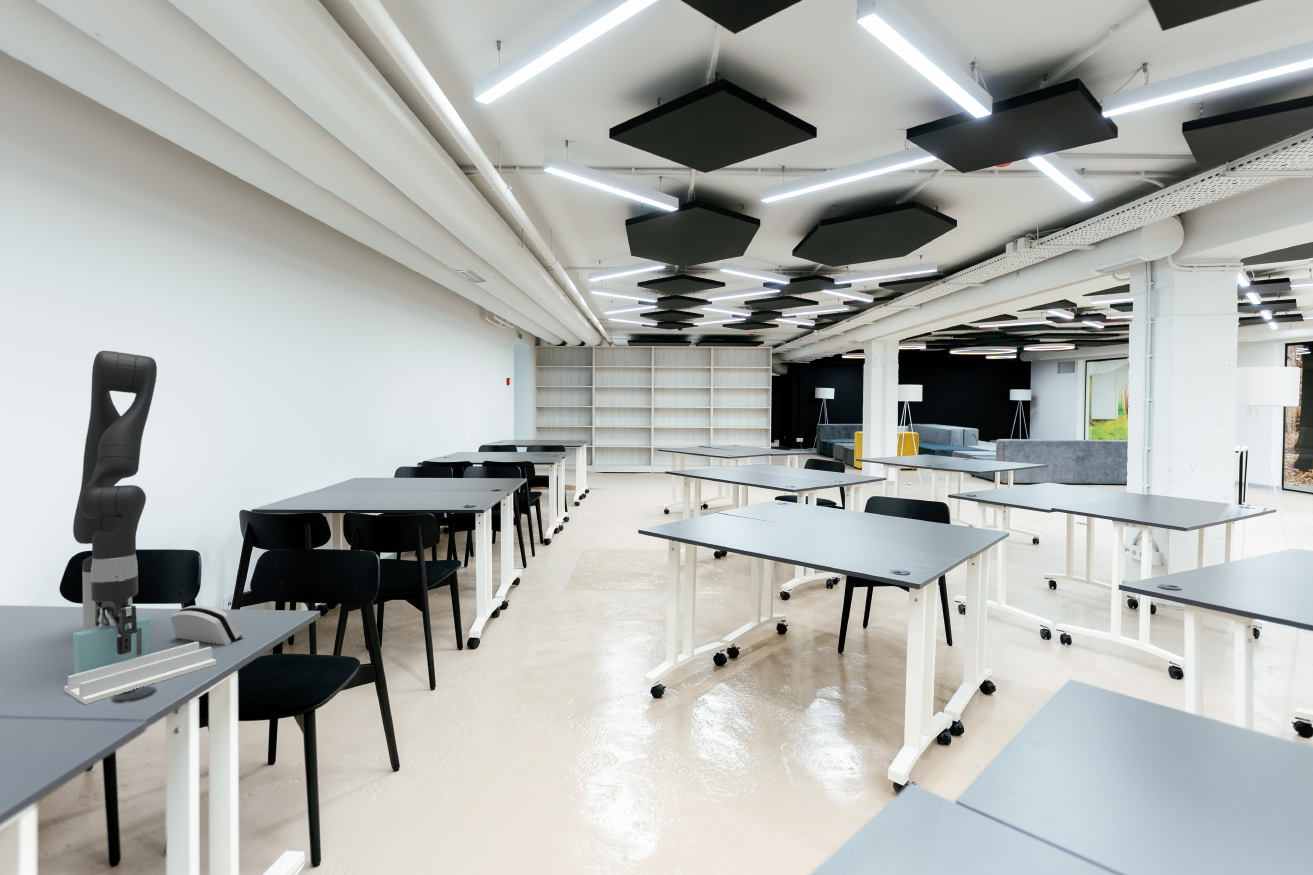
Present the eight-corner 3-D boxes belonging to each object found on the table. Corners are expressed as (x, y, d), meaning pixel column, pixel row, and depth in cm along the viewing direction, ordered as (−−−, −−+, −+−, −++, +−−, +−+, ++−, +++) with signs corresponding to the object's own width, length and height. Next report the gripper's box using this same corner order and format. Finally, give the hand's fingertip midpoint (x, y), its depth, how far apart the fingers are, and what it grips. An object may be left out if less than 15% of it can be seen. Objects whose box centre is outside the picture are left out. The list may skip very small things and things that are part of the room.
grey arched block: (246, 637, 148) (233, 605, 145) (229, 650, 144) (215, 617, 140) (196, 631, 152) (182, 599, 149) (178, 643, 148) (163, 610, 145)
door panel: (73, 679, 123) (73, 632, 123) (144, 659, 134) (144, 616, 134) (79, 682, 122) (78, 635, 122) (150, 662, 132) (150, 619, 132)
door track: (64, 691, 118) (64, 674, 118) (193, 654, 137) (193, 639, 137) (85, 704, 112) (85, 686, 112) (216, 664, 132) (216, 649, 132)
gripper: (79, 576, 128) (80, 649, 128) (105, 584, 121) (107, 661, 121) (122, 569, 134) (123, 638, 135) (150, 576, 128) (151, 649, 128)
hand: (115, 649), depth 128 cm, fingers open, 8 cm apart
